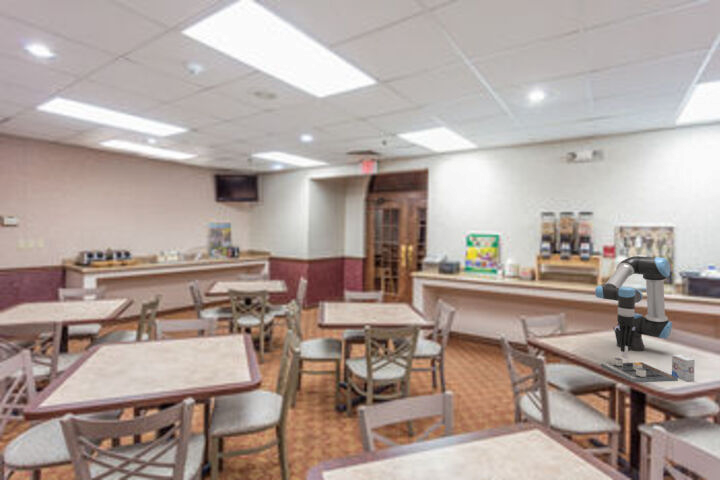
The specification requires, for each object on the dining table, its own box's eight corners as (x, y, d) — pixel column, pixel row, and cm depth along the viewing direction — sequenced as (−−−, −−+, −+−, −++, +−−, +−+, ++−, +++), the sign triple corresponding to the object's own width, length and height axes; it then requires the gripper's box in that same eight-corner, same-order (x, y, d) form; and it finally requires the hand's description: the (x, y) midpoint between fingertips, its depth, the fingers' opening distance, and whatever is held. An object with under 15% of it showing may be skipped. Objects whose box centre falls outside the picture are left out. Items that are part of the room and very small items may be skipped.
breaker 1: (618, 363, 208) (618, 357, 208) (622, 365, 205) (623, 359, 205) (613, 363, 208) (614, 357, 207) (618, 365, 205) (618, 359, 204)
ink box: (670, 375, 197) (671, 354, 196) (679, 374, 197) (679, 353, 197) (686, 381, 188) (686, 359, 188) (694, 381, 189) (695, 359, 188)
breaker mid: (637, 368, 201) (637, 362, 201) (642, 370, 198) (642, 364, 198) (632, 368, 200) (632, 362, 200) (637, 370, 197) (637, 364, 197)
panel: (641, 364, 211) (641, 362, 211) (677, 380, 189) (677, 377, 189) (600, 366, 209) (600, 363, 209) (632, 382, 187) (632, 379, 187)
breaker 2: (641, 374, 193) (641, 367, 193) (645, 376, 190) (646, 369, 190) (635, 374, 193) (636, 367, 192) (640, 376, 190) (640, 370, 189)
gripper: (631, 313, 202) (629, 354, 202) (609, 313, 201) (608, 355, 201) (642, 316, 194) (641, 359, 195) (620, 316, 193) (618, 359, 194)
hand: (624, 357), depth 198 cm, fingers closed
